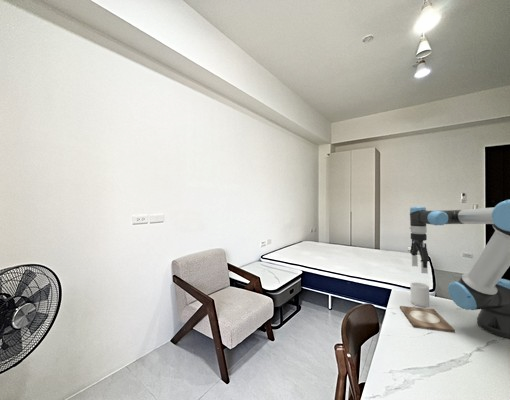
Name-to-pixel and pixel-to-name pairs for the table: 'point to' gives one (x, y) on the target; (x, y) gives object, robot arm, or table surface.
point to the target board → (426, 319)
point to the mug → (420, 294)
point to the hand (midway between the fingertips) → (419, 269)
